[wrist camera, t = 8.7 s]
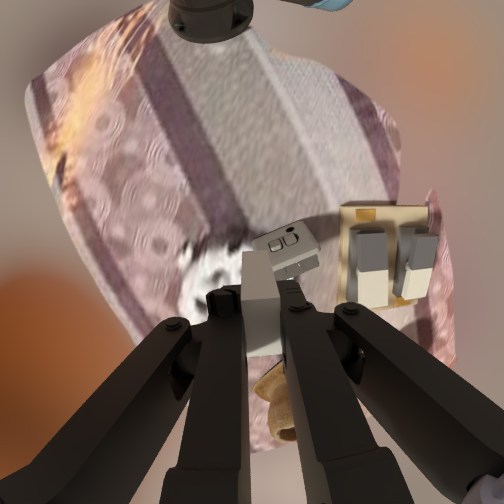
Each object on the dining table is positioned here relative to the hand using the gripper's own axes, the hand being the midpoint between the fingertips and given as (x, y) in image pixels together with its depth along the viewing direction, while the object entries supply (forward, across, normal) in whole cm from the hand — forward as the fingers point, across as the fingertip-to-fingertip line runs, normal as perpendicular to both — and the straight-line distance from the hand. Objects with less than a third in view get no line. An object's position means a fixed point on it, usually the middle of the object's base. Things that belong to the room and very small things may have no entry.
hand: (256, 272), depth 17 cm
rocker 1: (+24, +19, -10) cm, 32 cm away
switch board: (+29, +24, -10) cm, 39 cm away
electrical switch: (+29, +5, -6) cm, 31 cm away
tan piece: (+29, +6, -36) cm, 47 cm away
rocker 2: (+24, +29, -10) cm, 39 cm away
